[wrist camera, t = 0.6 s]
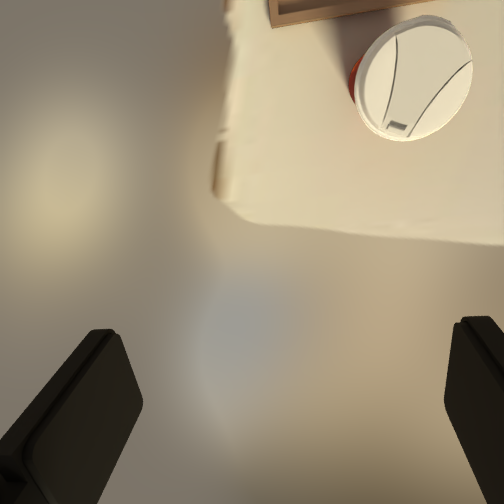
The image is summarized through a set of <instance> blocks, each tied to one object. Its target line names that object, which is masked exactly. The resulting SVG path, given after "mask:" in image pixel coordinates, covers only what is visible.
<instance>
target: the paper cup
mask: <svg viewBox="0 0 504 504" xmlns="http://www.w3.org/2000/svg"><path fill="white" fill-rule="evenodd" d="M472 74H473V62H472V57H471V52H470V49H469V46H468V44H467V42H466V40H465V39H464V37H463V36H462V35H461V33H460V32H459V31H458V30H457V29H456V28H455V27H454V25H453V24H452V23H451V22H450V21H448V20H446V19H444V18H442V17H437V16H433V15H422V16H419V17H416V18H413V19H410V20H407V21H404V22H401V23H399V24H397V25H395V26H393V27H391V28H390V29H388V30H387V31H385V32H384V33H383V34H382V35H381V36H380V37H378V38H377V39H376V40H375V41H374V43H373V44H372V45H371V46H370V47H369V49H368V50H367V52H366V53H365V54H364V55H363V56H362V57H361V58H360V59H359V60H358V62H357V63H356V64H355V66H354V67H353V69H352V71H351V74H350V78H349V92H350V95H351V98H352V100H353V102H354V103H355V104H356V107H357V110H358V113H359V115H360V117H361V119H362V120H363V122H364V123H365V124H366V126H367V127H368V128H370V129H371V130H372V131H373V132H374V133H376V134H377V135H379V136H381V137H383V138H386V139H389V140H394V141H412V140H416V139H420V138H423V137H425V136H428V135H430V134H432V133H434V132H435V131H437V130H439V129H440V128H441V127H443V126H444V125H445V124H446V123H447V122H448V121H449V120H450V119H451V118H452V117H453V116H454V115H455V114H456V113H457V111H458V110H459V109H460V107H461V105H462V104H463V102H464V100H465V98H466V96H467V94H468V92H469V88H470V85H471V81H472Z"/></svg>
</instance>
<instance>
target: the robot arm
mask: <svg viewBox="0 0 504 504" xmlns="http://www.w3.org/2000/svg"><path fill="white" fill-rule="evenodd" d="M444 404H445V409H446V411H447V414H448V416H449V419H450V421H451V423H452V426H453V427H454V430H455V432H456V434H457V437H458V439H459V441H460V444H461V446H462V448H463V450H464V453H465V455H466V457H467V459H468V462H469V464H470V466H471V468H472V471H473V473H474V475H475V477H476V479H477V482H478V484H479V486H480V489H481V491H482V493H483V495H484V498H485V500H486V502H487V504H504V333H503V332H502V330H501V329H500V328H499V327H498V325H497V324H496V323H495V322H494V320H493V319H492V318H491V317H489V316H469V317H463V318H462V319H461V322H460V323H455V324H454V327H453V335H452V342H451V350H450V357H449V364H448V372H447V379H446V387H445V395H444ZM142 406H143V398H142V395H141V392H140V389H139V387H138V384H137V381H136V378H135V375H134V373H133V370H132V367H131V364H130V362H129V359H128V356H127V354H126V351H125V348H124V345H123V342H122V340H121V337H120V335H118V334H116V333H115V331H114V330H112V329H96V330H91V331H90V332H89V333H88V334H87V336H86V337H85V338H84V339H83V340H82V342H81V343H80V344H79V345H78V346H77V348H76V349H75V350H74V351H73V352H72V354H71V355H70V356H69V357H68V359H67V360H66V361H65V362H64V363H63V365H62V366H61V367H60V368H59V369H58V371H57V372H56V373H55V374H54V376H53V377H52V378H51V379H50V381H49V382H48V383H47V384H46V385H45V386H44V388H43V389H42V390H41V391H40V392H39V394H38V395H37V396H36V397H35V399H34V400H33V401H32V402H31V403H30V404H29V406H28V407H27V408H26V409H25V410H24V412H23V413H22V414H21V415H20V417H19V418H18V419H17V420H16V421H15V423H14V424H13V425H12V426H11V427H10V429H9V430H8V431H7V432H6V433H5V435H4V436H3V437H2V438H1V440H0V504H97V503H98V501H99V499H100V497H101V495H102V492H103V490H104V488H105V486H106V484H107V482H108V480H109V478H110V475H111V473H112V471H113V469H114V467H115V465H116V463H117V461H118V459H119V457H120V455H121V452H122V450H123V448H124V446H125V444H126V442H127V440H128V438H129V436H130V433H131V431H132V429H133V427H134V425H135V423H136V421H137V418H138V417H139V414H140V412H141V410H142Z"/></svg>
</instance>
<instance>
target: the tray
mask: <svg viewBox="0 0 504 504" xmlns="http://www.w3.org/2000/svg"><path fill="white" fill-rule="evenodd" d="M428 1H434V0H269V10H270V20H271V27H272V28H277V27H283V26H289V25H295V24H301V23H306V22H312V21H318V20H324V19H330V18H335V17H341V16H347V15H353V14H359V13H364V12H370V11H376V10H382V9H388V8H393V7H399V6H405V5H411V4H417V3H422V2H428Z"/></svg>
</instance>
